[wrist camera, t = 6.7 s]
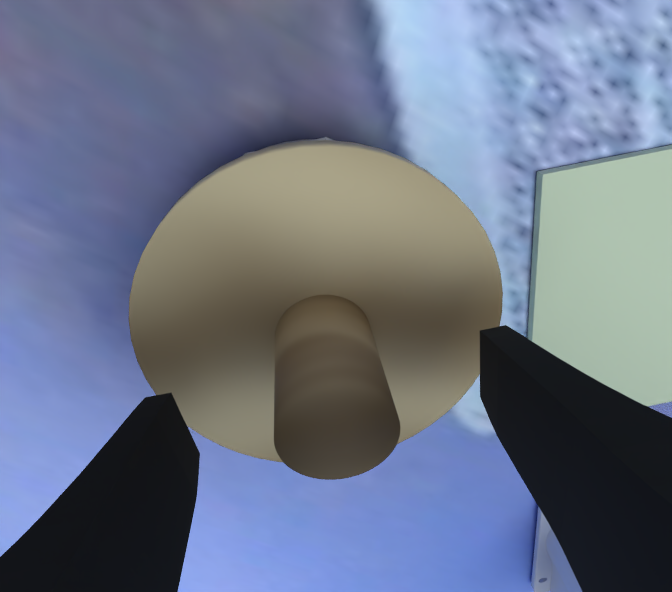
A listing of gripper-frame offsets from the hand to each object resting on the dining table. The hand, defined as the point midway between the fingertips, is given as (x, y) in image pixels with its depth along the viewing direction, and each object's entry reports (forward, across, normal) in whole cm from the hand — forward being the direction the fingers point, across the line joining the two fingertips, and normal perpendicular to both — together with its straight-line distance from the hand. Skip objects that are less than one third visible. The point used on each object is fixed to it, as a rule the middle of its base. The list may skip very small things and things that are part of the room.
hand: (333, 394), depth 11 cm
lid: (+3, 0, 0) cm, 3 cm away
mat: (+6, -13, +4) cm, 15 cm away
